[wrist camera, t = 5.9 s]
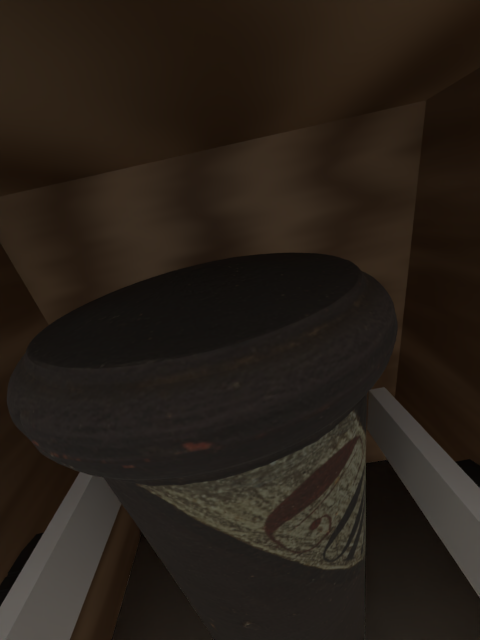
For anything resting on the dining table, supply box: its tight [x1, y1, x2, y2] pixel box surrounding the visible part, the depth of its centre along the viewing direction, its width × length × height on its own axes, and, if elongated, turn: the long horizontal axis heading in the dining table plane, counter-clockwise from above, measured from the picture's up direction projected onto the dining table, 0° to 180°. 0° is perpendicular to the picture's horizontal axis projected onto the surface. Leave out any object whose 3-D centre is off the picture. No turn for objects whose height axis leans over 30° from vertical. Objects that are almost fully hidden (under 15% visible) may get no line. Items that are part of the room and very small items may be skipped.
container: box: [7, 253, 398, 640], centre depth 10 cm, size 9×9×20 cm
